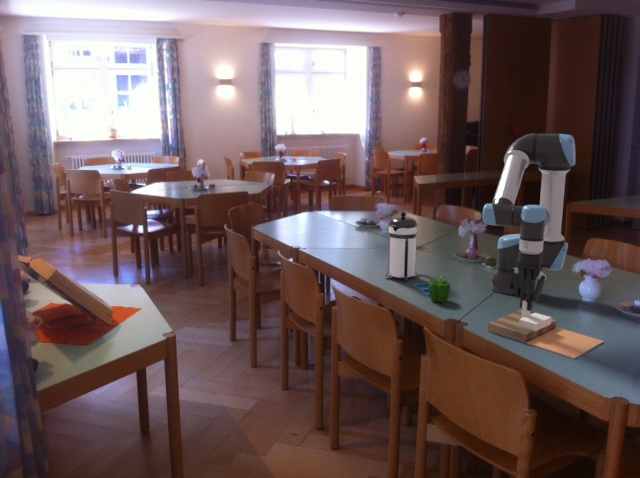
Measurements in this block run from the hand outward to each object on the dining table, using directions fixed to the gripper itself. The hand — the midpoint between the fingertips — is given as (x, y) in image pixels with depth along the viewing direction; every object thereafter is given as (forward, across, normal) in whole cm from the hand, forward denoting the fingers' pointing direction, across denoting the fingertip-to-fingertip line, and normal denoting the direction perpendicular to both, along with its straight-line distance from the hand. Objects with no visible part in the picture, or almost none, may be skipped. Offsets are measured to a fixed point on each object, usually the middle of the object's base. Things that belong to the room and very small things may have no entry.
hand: (525, 318), depth 204 cm
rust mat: (+4, +15, 0) cm, 15 cm away
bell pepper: (+5, -39, +3) cm, 39 cm away
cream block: (+1, +4, 0) cm, 4 cm away
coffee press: (+5, -71, +16) cm, 73 cm away
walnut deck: (+4, -1, 0) cm, 5 cm away
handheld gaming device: (+5, -51, +11) cm, 52 cm away
